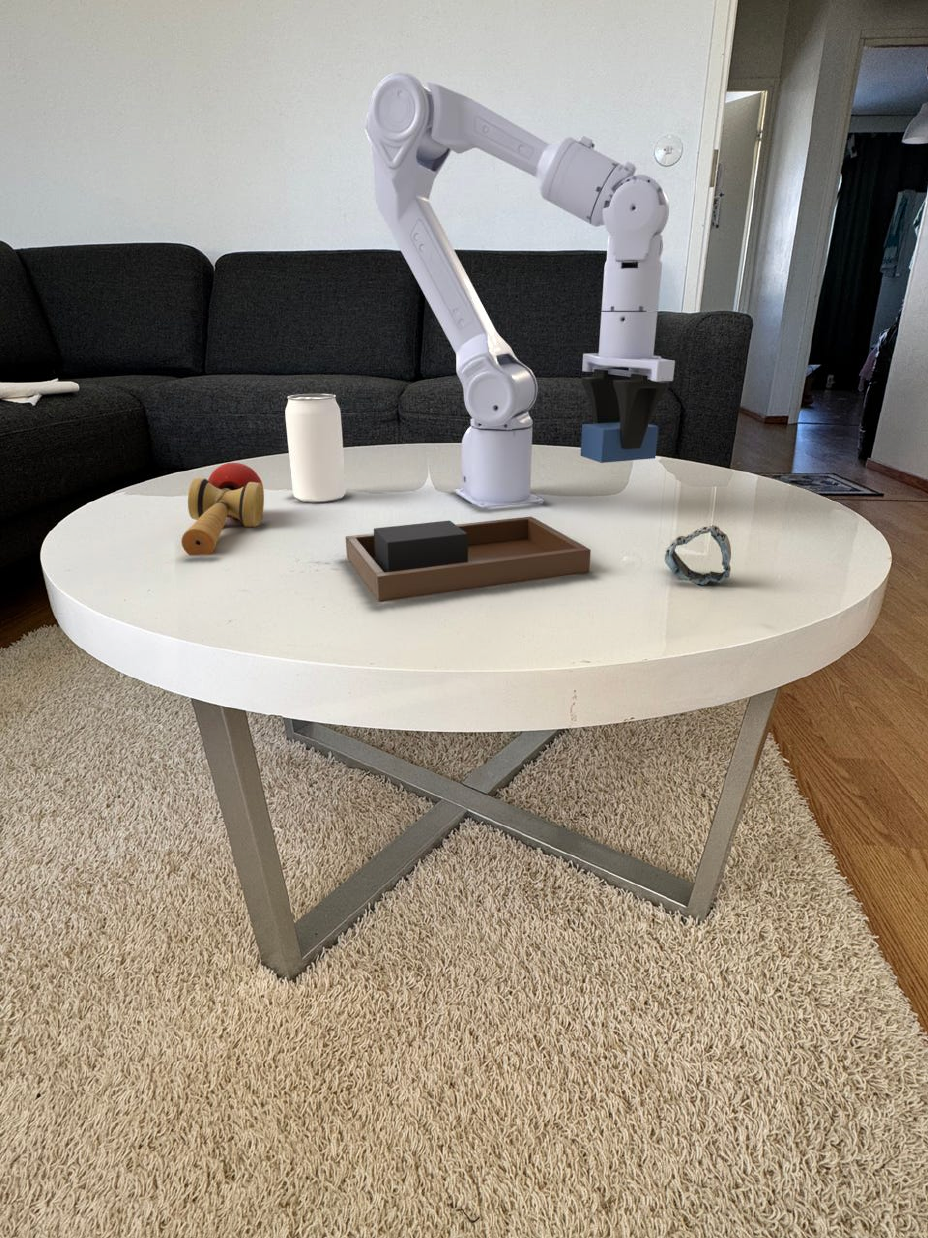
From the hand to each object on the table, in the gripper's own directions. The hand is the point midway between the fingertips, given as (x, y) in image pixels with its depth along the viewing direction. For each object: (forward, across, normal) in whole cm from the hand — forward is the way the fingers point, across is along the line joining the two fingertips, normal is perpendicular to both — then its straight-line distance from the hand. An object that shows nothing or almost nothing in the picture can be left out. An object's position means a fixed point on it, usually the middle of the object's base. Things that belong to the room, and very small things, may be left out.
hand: (618, 444), depth 80 cm
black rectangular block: (+7, -13, +28) cm, 31 cm away
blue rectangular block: (+1, 0, 0) cm, 1 cm away
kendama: (+8, +7, +42) cm, 44 cm away
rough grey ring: (+8, -23, +7) cm, 25 cm away
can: (+8, +19, +30) cm, 36 cm away
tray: (+7, -13, +24) cm, 28 cm away
